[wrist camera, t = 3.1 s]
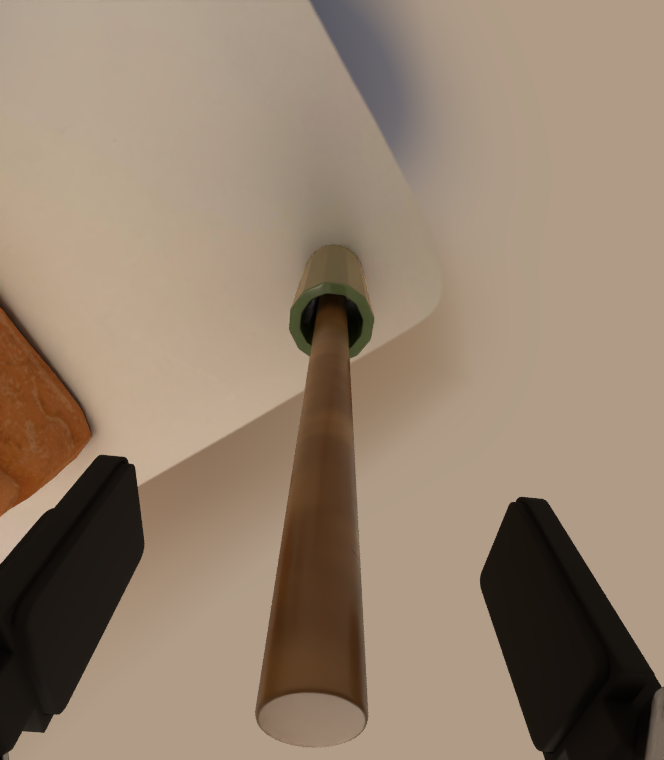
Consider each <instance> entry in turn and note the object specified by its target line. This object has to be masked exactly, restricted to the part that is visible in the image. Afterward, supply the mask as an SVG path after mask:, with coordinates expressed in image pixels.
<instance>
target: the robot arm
mask: <svg viewBox="0 0 664 760" xmlns="http://www.w3.org/2000/svg"><path fill="white" fill-rule="evenodd" d="M143 550H144V536H143V528H142V520H141V511H140V503H139V495H138V487H137V479H136V471H135V466H134V465H133V464H129V463H128V460H127V458H125V457H118V456H108V455H99V456H98V457H97V458H96V459H95V460H94V461H93V462H92V463H91V465H90V466H89V467H88V468H87V469H86V471H85V472H84V473H83V474H82V475H81V477H80V478H79V479H78V480H77V481H76V483H75V484H74V485H73V486H72V487H71V489H70V490H69V491H68V492H67V493H66V495H65V496H64V497H63V498H62V499H61V501H60V502H59V503H58V504H57V505H56V507H55V508H52V509H50V510H48V511H46V512H45V513H44V514H43V515H42V516H41V517H40V518H39V520H38V521H37V522H36V523H35V524H34V525H33V527H32V528H31V529H30V530H29V531H28V533H27V534H26V535H25V536H24V537H23V538H22V540H21V541H20V542H19V543H18V544H17V545H16V547H15V548H14V549H13V550H12V551H11V553H10V554H9V555H8V556H7V557H6V558H5V560H4V561H3V562H2V563H1V564H0V760H9V754H8V752H9V751H10V750H12V749H13V747H14V745H15V744H16V742H17V740H18V738H19V736H20V734H21V733H22V731H28V732H42V733H44V732H45V730H46V729H47V727H48V725H49V722H50V721H51V719H52V717H53V715H54V714H60V713H62V712H63V710H64V709H65V708H66V706H67V704H68V702H69V700H70V698H71V696H72V694H73V692H74V690H75V688H76V686H77V684H78V682H79V681H80V678H81V677H82V674H83V673H84V671H85V669H86V667H87V664H88V663H89V661H90V659H91V657H92V654H93V653H94V651H95V649H96V647H97V645H98V643H99V641H100V639H101V637H102V635H103V633H104V631H105V629H106V627H107V625H108V623H109V621H110V619H111V617H112V615H113V613H114V611H115V609H116V607H117V605H118V603H119V601H120V599H121V597H122V595H123V593H124V591H125V589H126V587H127V585H128V583H129V581H130V579H131V577H132V575H133V573H134V571H135V569H136V567H137V565H138V564H139V561H140V560H141V557H142V554H143ZM480 586H481V590H482V593H483V596H484V599H485V602H486V605H487V608H488V611H489V614H490V617H491V620H492V623H493V626H494V629H495V632H496V635H497V638H498V641H499V644H500V647H501V649H502V653H503V656H504V659H505V662H506V665H507V667H508V671H509V673H510V677H511V679H512V683H513V686H514V688H515V692H516V694H517V697H518V700H519V703H520V706H521V709H522V712H523V715H524V718H525V721H526V724H527V727H528V730H529V733H530V736H531V739H532V741H533V744H534V745H535V747H536V748H537V749H538V750H539V751H542V752H543V755H544V758H545V760H664V687H661V685H660V683H659V682H658V680H657V679H656V677H655V674H654V672H653V671H652V670H651V668H650V666H649V665H648V663H647V661H646V660H645V658H644V656H643V655H642V653H641V652H640V650H639V648H638V647H637V645H636V644H635V642H634V640H633V639H632V637H631V635H630V634H629V632H628V631H627V629H626V627H625V626H624V624H623V623H622V621H621V619H620V618H619V616H618V615H617V613H616V611H615V610H614V608H613V607H612V605H611V603H610V602H609V600H608V598H607V597H606V595H605V594H604V592H603V591H602V589H601V587H600V586H599V584H598V582H597V581H596V579H595V578H594V576H593V574H592V573H591V571H590V570H589V568H588V566H587V565H586V563H585V562H584V560H583V558H582V557H581V555H580V554H579V552H578V550H577V549H576V547H575V545H574V544H573V542H572V541H571V539H570V537H569V536H568V534H567V532H566V531H565V529H564V528H563V526H562V525H561V523H560V521H559V520H558V518H557V516H556V515H555V513H554V512H553V510H552V509H551V507H550V505H549V504H548V502H547V501H546V500H544V499H538V498H528V497H519V498H518V499H517V500H516V502H512V503H510V505H509V506H508V509H507V511H506V514H505V516H504V519H503V521H502V524H501V526H500V528H499V531H498V533H497V536H496V538H495V541H494V543H493V546H492V548H491V550H490V553H489V555H488V558H487V560H486V563H485V565H484V567H483V570H482V573H481V576H480Z"/></svg>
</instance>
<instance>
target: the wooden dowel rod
mask: <svg viewBox="0 0 664 760" xmlns="http://www.w3.org/2000/svg"><path fill="white" fill-rule="evenodd" d="M346 300H349V299H348V298H347V297H345V296H344V295H337V294H328V293H326V294H323V295H321V296H319V301H318V307H317V314H316V320H315V327H314V333H313V340H312V346H311V353H310V359H309V366H308V372H307V379H306V385H305V392H304V398H303V405H302V411H301V418H300V424H299V431H298V437H297V444H296V450H295V458H294V464H293V470H292V476H291V483H290V489H289V496H288V502H287V509H286V515H285V522H284V528H283V535H282V542H281V548H280V554H279V561H278V567H277V574H276V580H275V587H274V593H273V600H272V606H271V613H270V620H269V626H268V632H267V639H266V645H265V652H264V658H263V665H262V671H261V678H260V684H259V691H258V697H257V704H256V710H255V716H256V720H257V723H258V725H259V727H260V728H261V729H262V730H263V731H264V732H265V733H266V734H267V735H269V736H271V737H272V738H274V739H276V740H278V741H281V742H284V743H287V744H291V745H295V746H302V747H327V746H334V745H338V744H342V743H345V742H347V741H350V740H352V739H354V738H355V737H357V736H358V735H359V734H360V733H361V732H362V731H363V730H364V728H365V727H366V724H367V721H368V703H367V683H366V664H365V645H364V625H363V607H362V587H361V568H360V550H359V530H358V512H357V494H356V475H355V455H354V435H353V417H352V398H351V378H350V359H349V340H348V321H347V302H346Z"/></svg>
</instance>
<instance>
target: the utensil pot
mask: <svg viewBox="0 0 664 760" xmlns="http://www.w3.org/2000/svg"><path fill="white" fill-rule="evenodd" d="M326 293H328V294H337V295H344V296H345V297H347V298H348V299H349V300H346V302H347V321H348V340H349V358H352V357H355V356H357V355H358V354H359V353H360V352H361V350H362V349H363V348H364V347H365V346H366V344H367V343H368V342H369V341H370V339H371V335H372V329H373V324H374V315H373V311H372V307H371V302H370V298H369V293H368V289H367V285H366V280H365V276H364V272H363V269H362V266H361V263H360V261H359V259H358V257H357V256H356V255H355V254H354V253H353V252H352V251H351V250H349V249H348V248H346V247H343V246H340V245H328V246H324V247H322V248H320V249H318V250H317V251H315V252H314V253H313V254H312V256H311V257H310V259H309V260H308V262H307V263H306V265H305V268H304V271H303V274H302V277H301V280H300V283H299V286H298V289H297V292H296V295H295V298H294V301H293V304H292V307H291V310H290V324H289V330H290V333H291V335H292V337H293V339H294V341H295V343H296V345H297V347H298V348H299V349H300V350H301V351H303V352H304V353H306V354H307V355H309V356H310V353H311V346H312V340H313V333H314V327H315V320H316V314H317V307H318V301H319V296H321V295H323V294H326Z"/></svg>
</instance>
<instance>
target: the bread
mask: <svg viewBox="0 0 664 760" xmlns="http://www.w3.org/2000/svg"><path fill="white" fill-rule="evenodd" d="M91 437H92V434H91V432H90V429H89V427H88V424H87V421H86V419H85V416H84V414H83V411H82V409H81V408H80V407H79V405H78V404H77V403H76V401H75V400H74V399H73V397H72V396H71V395H70V393H69V392H68V390H67V389H66V388H65V386H64V385H63V384H62V382H61V381H60V380H59V378H58V377H57V376H56V375H55V374H54V372H53V371H52V370H51V369H50V368H49V367H48V365H47V364H46V363H45V362H44V361H43V359H42V358H41V357H40V356H39V355H38V354H37V352H36V351H35V350H34V349H33V348H32V346H31V345H30V344H29V343H28V342H27V340H26V339H25V338H24V337H23V336H22V335H21V333H20V332H19V331H18V329H17V328H16V327H15V325H14V324H13V323H12V321H11V320H10V319H9V318H8V316H7V315H6V314H5V312H4V311H3V310H2V308H1V307H0V517H1V516H2V515H3V514H4V513H5V512H7V511H8V510H9V509H11V508H13V507H14V506H16V505H18V504H19V503H21V502H22V501H24V500H26V499H27V498H29V497H30V496H32V495H33V494H34V493H35V492H37V491H38V490H39V489H40V488H42V487H43V486H44V485H45V484H47V483H48V482H49V481H50V480H52V479H53V478H54V477H55V476H56V475H57V474H58V473H59V472H60V471H61V470H62V469H63V468H64V467H66V466H67V465H68V464H69V463H71V462H72V461H73V460H74V459H75V458H76V457H77V456H78V455H79V453H80V452H81V450H82V449H83V448H84V446H85V445H86V444H87V442H88V441H89V440H90V438H91Z"/></svg>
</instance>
